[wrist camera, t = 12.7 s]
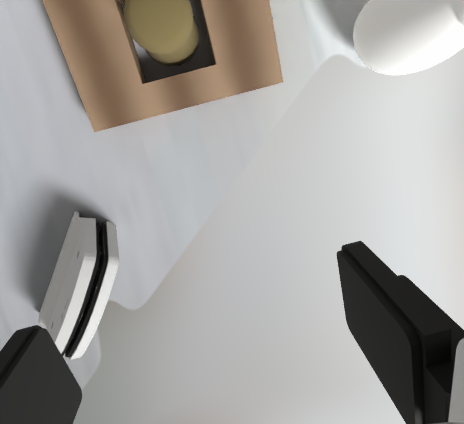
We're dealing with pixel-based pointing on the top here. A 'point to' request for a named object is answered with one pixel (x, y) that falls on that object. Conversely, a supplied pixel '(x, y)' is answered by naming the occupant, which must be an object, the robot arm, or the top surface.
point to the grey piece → (80, 285)
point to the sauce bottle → (408, 34)
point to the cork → (163, 29)
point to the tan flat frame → (171, 88)
